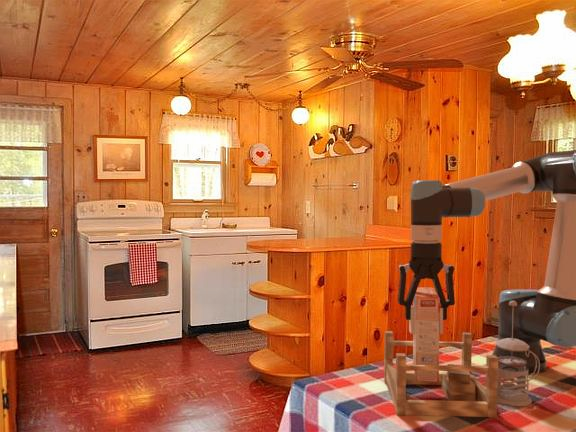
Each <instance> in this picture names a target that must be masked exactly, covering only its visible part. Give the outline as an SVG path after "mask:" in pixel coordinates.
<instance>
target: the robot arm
mask: <svg viewBox="0 0 576 432" xmlns="http://www.w3.org/2000/svg"><path fill="white" fill-rule="evenodd" d="M534 192H535V193H536V192H552V194H551V196H552V197H553V199H554V200H555V201H556V206H555V213H554V219H553V220H554V221H553V226H552V234H551V239H550V245H549V253H548V257H547V258H548V259H547V265H546V271H545V276H544V277H545V278H544V284H543V286H542V287H541V288H540V289H528V288H527V289H525V288H524V289H505V290H502V291H501V292H500V294H499V299H498V335H497V336H498V338H497V341H498V340H501V339H505V338H512V314H513V338H515V339H518V340H521V341H523V342H525V343H526V344H528V345H529V346H530V348H529V349H528V350H530V351H531V352H533V353H534V354H535V355H536V356H537V357H538V359H539V361H540V370H539V373H538V374H541V373H544V372H546V371H547V358H546V356H545V353H544V349H543V346H542V343H541V340H542V341H545V342H547V343H549V344H551V345H553V346H559V347H562V348H573V347H576V149H572V150H570V149H569V150H565V151H552V152H551V151H550V152H547V153H544V154H540V155H538V156H534V157H532V158H527V159H525V160H521V161H518V162H515V163H514V164H513V165H512V166H511V167H509V168H505V169H500V170H497V171H494V172H490V173H485V174H481V175H477V176H473V177H469V178H466V179H461V180H458V181H453V182H450V183H447V184H443V182H442V181H441V180H439V179H436V180H435V179H427V180H426V179H424V180H421V179H420V180H415V181H412V183H411V189H410V240H411V241H412V242H411V243H410V260H409V262H408V263H406V264H399V265H398V267H397V268H398V271H399V283H398V290H397V291H398V294H397V302H398V304H399V305H400V306H402V307H403V306H404V317H405V319H406V321H408V322H409V323H408V331H409V333H410V334H411V335H413V334H414V307H413V305H412V304H413V303H414V296H415V293H416V291H417V288H418V287H419V285H420V283H421V280H425V279H429V280H431V281H432V283H433V288H435V290H436V292H437V294H438V296H439V298H440V313H439V335H444V321H446V320H447V319H448V308H449V307H450V306H454V305H455V304H456V299H455V290H454V288H455V287H454V277H453V274H454V272H455V267H454V266H453V265H452V264H446V263H444V262H443V259H442V257H443V256H442V255H443V253H442V251H443V250H442V249H443V248H442V245H443V244H442V242H441V241H442V236H443V235H442V234H443V233H442V230H443V229H442V226H443V223H442V221H443V218H473V217H478V216H480V215H482V213H484V211H485V208H486V202H487V201H491V200H495V199H498V198H502V197H506V196H510V195H512V194H516V193H520V194H529V193H534ZM409 269H410V270H411V271H412V273H413V277H412V281H411V284H410V287H409V289H408V293H407V295H406V286H407V285H406V284H407V274H408V273H409ZM442 270H443V272H444V276H445V285H446V286H445V287H446V297H447V298H446V297H445V294H444V290H443V288H442V285H441V282H440V279H439V275H438V274H439V273H440V272H441V271H442ZM405 295H406V298H405ZM510 301H516V303H517V306H511V305H509V302H510ZM530 351H526V354H527V355H528V352H530ZM491 355H495V356H497V357H500V356H509V357H511V356H512V357H516V358H521V359H524V360H526V362H527V364H526V365H525V366H526V371H527V368H528V374H532V373H533V372H534V370H535V367H536V360H537V368H536V371H535V373H534V374H537V372H538V368H539V362H538V359H537V357H536V356H535V357H536V360H535V357H534V355H533V354H532V353H529V357H528V356H526V355H525V351H509V350H504V349H501V348H498V347H497V346H496V345H495V346H494V348H493V352H492V353H491ZM507 368H511V369H514V370H516V371H518V369H517V368H515V367H512V366H505V367H503V368H501V369H503V370H504V369H507Z"/></svg>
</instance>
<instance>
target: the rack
mask: <svg viewBox="0 0 576 432" xmlns="http://www.w3.org/2000/svg"><path fill="white" fill-rule="evenodd" d="M461 335H462V336H461V341H439V347H449V348H450V347H452V348H453V347H457V348H458V347H459V348H460V347H461V365H465V366H449V365H448V364H447V365H443V364H442V365H440V364H439V365H413V364H407V355H406V353H405V352H404V353H403V352H401V353H400V352H399V353H398V352H396V354H395V359H396V360H395V365H394V362H393V361H394V346H399V347H401V346H407V347H409V346H410V347H411V346H412V347H413V340H394V333H393V331H391V330H389V331H388V330H387V331H386V330H385V331H384V354H383V355H384V356H383V357H384V358H383V359H384V362H383V365H384V366H383V368H384V369H383V371H384V372H383V382H384V385H386V387H387V390H388V392H389V395H390V398H391V400H392V402H393V403H392V404H393V406H394V409H395V411H394V412H395V414H396V416H436V417H437V416H440V417H443V416H445V417H474V418H475V417H476V418H478V417H481V418H498V402H497V389H498V357H497V356H495V355H492V354H486V359H485V360H486V363H485V365H472V349H473V347H472V345H473V344H472V343H473V334H472V333H471V332H462V334H461ZM414 370H420V371H439V383H433V382H419V381H415V374H414ZM447 371H466V372H469V373H470V379H471V380H472V382H473V383H474V384H475V401H449V400H434V399H431V400H430V399H406V398H407V397H406V396H407V394H406V392H407V391H406V390H407V389H406V386H407V385H425V386H427V385H431V386H432V385H433V386H436V385H437V386H439V385H440V386H442V382H443V373H446V374H447ZM472 372H474V373H476V372H477V373H478V372H479V373H485V374H486V375H485V386H484V385H483V384H482V383H481V382H480V380H479V379H478V378H477V377H476V376H475V374H473V373H472Z"/></svg>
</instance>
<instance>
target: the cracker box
mask: <svg viewBox="0 0 576 432" xmlns="http://www.w3.org/2000/svg"><path fill="white" fill-rule="evenodd" d="M412 306H413V307H414V334H412V335H413V337H412V338H413V340H412V341H413V346H412V348H413V352H412V365H440V346H439V342H440V334H439V313H440V306H441V304H440V298H439V296H438V294H437V292H436V290H435V287H425V286H424V287H421V286H420V287H419V286H418V288H417V291H416V293H415V296H414V299H413V305H412ZM413 372H414V374H415V381H419V382H433V383H439V372H440V371H420V370H413Z"/></svg>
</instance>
